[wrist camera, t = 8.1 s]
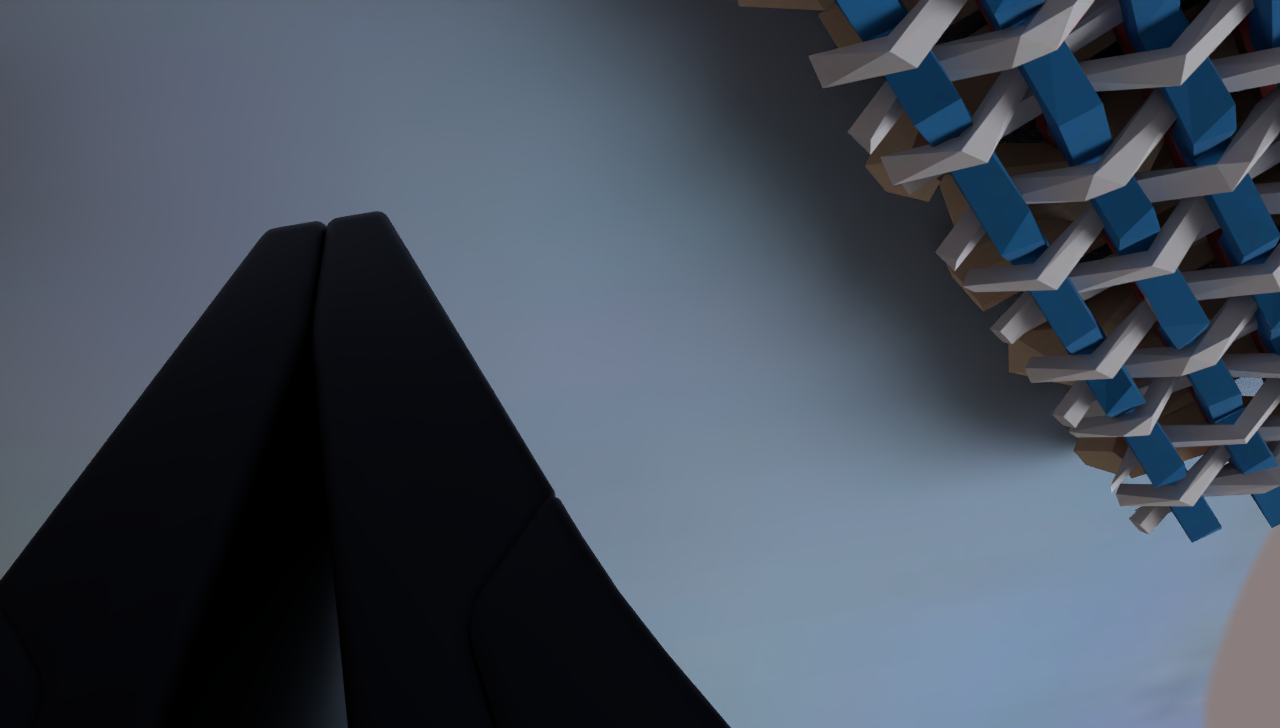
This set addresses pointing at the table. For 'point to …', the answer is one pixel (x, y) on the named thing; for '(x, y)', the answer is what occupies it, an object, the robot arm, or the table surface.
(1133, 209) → the woven mat
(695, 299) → the table surface
